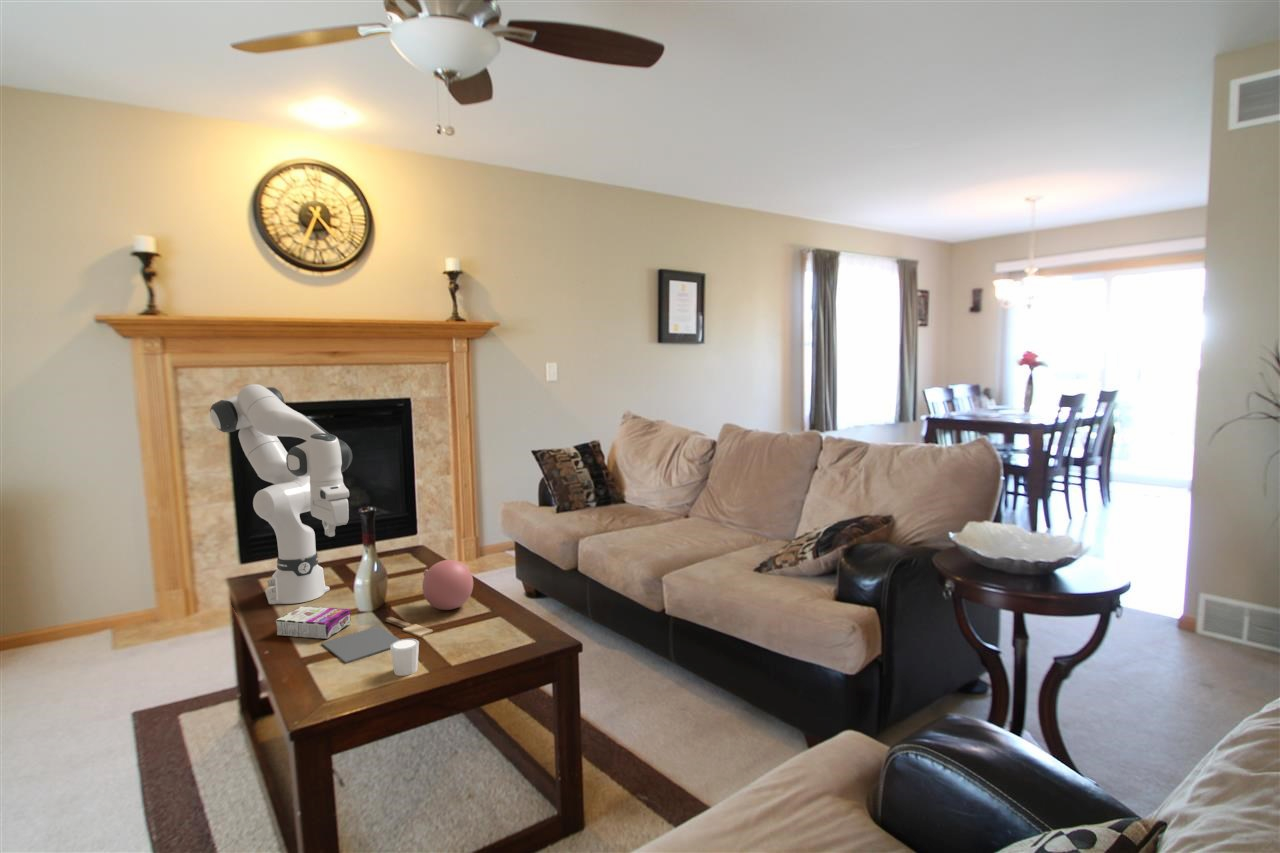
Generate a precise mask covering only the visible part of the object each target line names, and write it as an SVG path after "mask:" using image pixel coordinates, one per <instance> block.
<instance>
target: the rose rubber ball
mask: <svg viewBox="0 0 1280 853" xmlns="http://www.w3.org/2000/svg"><path fill="white" fill-rule="evenodd" d="M421 586H422V594H423V596H424V599H425V600H426V602H427V603H428V604H429V605H431V607H434V608H435V609H437V610H442V611H451V610H454V609H455V610H456V609H458V608H460V607H461V606H463V605H464V604H465V603H466V602H467V601H468V600H469V599H470V597H471V596H472V593H473V589H474V578H473V574H472V572H471V570H470V569H469V568H468V567H467V566H466V565H465V564H464V563H462V562H461V561H459V560H455V559H445V560H441V561H438V562H436V563H435V564H433V565H432V566H430V567H429V569H424V573H423V580H422V585H421Z"/></svg>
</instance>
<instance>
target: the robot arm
mask: <svg viewBox="0 0 1280 853" xmlns="http://www.w3.org/2000/svg"><path fill="white" fill-rule="evenodd" d="M209 415H210V420H211V423H213V425H214V426H215V428H216V429H217V430H218V431H220V432H222V433H232V432H236V431H238V430H239V431H238V436H237V437H238V439H239V443H240V446H241V448H242V451H243V452H244V455H245V457H246V458H247V460H248V462H249V463H250V465H251V467H252V468H253V469H254V471H255V473H256V474H257V477H259V478H260V480H263V481H265V482H268V483H271V484H272V485H269V486H267V487H265V488H263V489H260V490H257V492H256V493H255V494H254V496H253V499H252V500H253V501H252V507H253V510H254V512H255V513H256V515H257V516H259V518H261V519H263V520H264V521H266V522H268V524H269V525H270V526H271V527H272V529H273V531H274V533H275V536H276V542H277V550H278V552H277V554H278V557H277V560H276V568H277V569H276V570H275V572H274V573H273V574H272V576H271V578H270V579H267V587H268V588H265V596H266V599H267V602H268V605H277V604H278V605H279V604H285V605H289V604H290V605H292V604H299V603H304V602H310V601H312V600H313V601H314V600H316V599H318V598H320V597H322V596H324V594H325V593H327V592H329V591H330V590H331V589H330V586H328V585H326V582H325V576H324V569H323V567H322V566H320V565H319V555H318V552H317V549H316V548H317V547H316V534H315V531H314V529H313V528H312V527H311V526H309V525H307V524H304V523H302V520H301V517H300V515H301V514H303V513H307V512H310V515H311V517H313V518H316V519H318V520H321V521H322V522H321V524H322V526H323V529H324V535H325V536H327V537H329V538H331V537H335V535H336V531H335V530H336V528H337V527H339V526H340V527H341V526H343V525H344V526H345V525H347V524H348V522H349V519H350V518H349V513H350V512H349V510H350V509H349V500H348V498H349V497H350V491H349V488H347V487H346V485H345V483H344V476H343V472H345V471H346V470H347V469H348V468H349V466H350V465H351V463H352V461H353V453H352V452H353V451H352V449H351V447H350V446H349V445H348V444H347V443H346V442H345V441H343V440H342V439H340V438H338V437H337V436H336V435H334V434H331V433H330V432H329V431H327V430H326V429H324V428H323V427H322V426H321V425H319V424H318V423H317V422H316V421H315V420H313V419H311V418H310V417H309V416H307V415H305V414H303V413H301V412H298V411H297V410H294V409H293V408H291V407H290V406H289V405H286V400H285V397H284V396H283V395H282V393H281V392H280V390H279V389H277V388H276V387H273V386H271V387H270V386H269V387H266V386H264V385H261V384H259V383H258V384H257V383H251V384H248V385H246V386H244V387H242V388H241V389H240V390H239V392H238V393H237V395H234V396H231V397H229V398H226V399H220V400H219V401H217V402H216V401H215V403H213V404H212V405H211V406H210V409H209ZM278 437H291V438H297V439H298V438H299V439H302V440H304V442H302V443H300V444H297V445H294V446H292V447H291V448H290V449H289V450H288V451H287V450H286V448H285V447H284V445H283V443H282V442H281V440H280V439H279V438H278Z"/></svg>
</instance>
